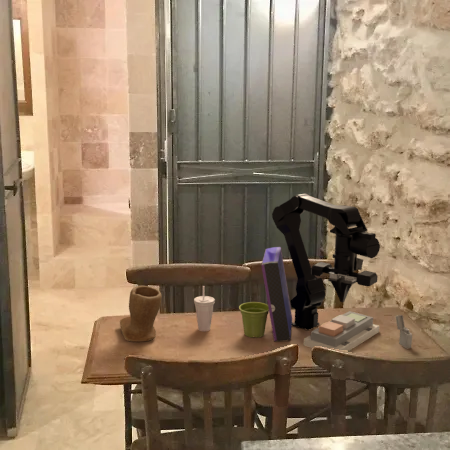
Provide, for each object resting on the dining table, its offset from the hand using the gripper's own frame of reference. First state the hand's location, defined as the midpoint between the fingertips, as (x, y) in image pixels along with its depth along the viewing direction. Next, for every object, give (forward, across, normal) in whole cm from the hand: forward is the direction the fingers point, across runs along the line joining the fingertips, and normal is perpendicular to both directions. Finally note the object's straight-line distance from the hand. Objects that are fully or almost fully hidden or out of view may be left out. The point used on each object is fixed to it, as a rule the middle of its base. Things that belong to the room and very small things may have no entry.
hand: (342, 301), depth 194 cm
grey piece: (+12, 0, -2) cm, 12 cm away
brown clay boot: (+12, +50, +33) cm, 61 cm away
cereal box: (+12, +17, +4) cm, 21 cm away
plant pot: (+12, +23, +12) cm, 29 cm away
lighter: (+12, -16, -9) cm, 22 cm away
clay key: (+8, +1, +5) cm, 10 cm away
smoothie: (+12, +37, +18) cm, 43 cm away
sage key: (+10, 0, -9) cm, 13 cm away
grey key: (+8, 0, -2) cm, 8 cm away
